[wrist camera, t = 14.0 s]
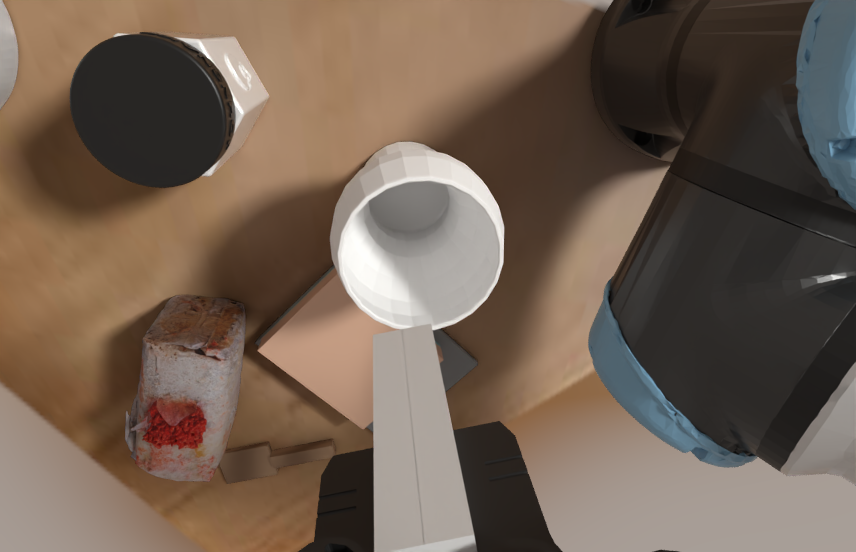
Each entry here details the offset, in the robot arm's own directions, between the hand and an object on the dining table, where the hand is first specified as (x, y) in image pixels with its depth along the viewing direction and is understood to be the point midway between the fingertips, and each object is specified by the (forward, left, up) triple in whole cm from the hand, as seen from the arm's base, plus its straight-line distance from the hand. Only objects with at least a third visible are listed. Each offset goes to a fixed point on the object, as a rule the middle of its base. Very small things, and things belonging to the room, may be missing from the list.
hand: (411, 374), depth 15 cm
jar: (+12, -6, -33) cm, 35 cm away
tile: (+3, +21, -31) cm, 37 cm away
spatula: (+16, +28, -33) cm, 45 cm away
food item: (+20, +16, -33) cm, 41 cm away
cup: (-1, +4, -33) cm, 33 cm away
